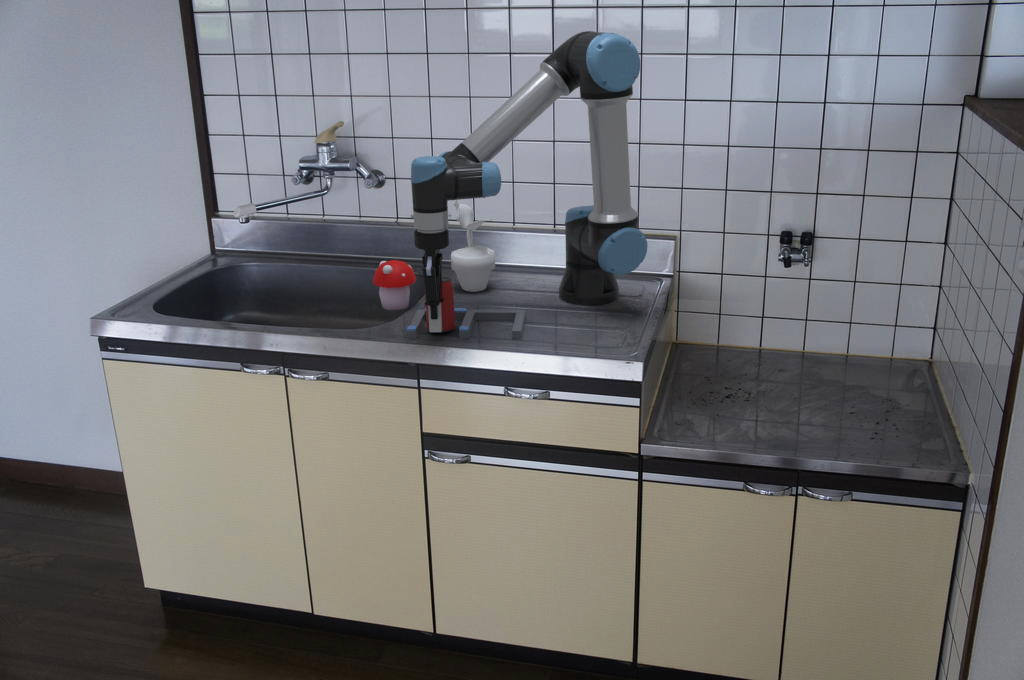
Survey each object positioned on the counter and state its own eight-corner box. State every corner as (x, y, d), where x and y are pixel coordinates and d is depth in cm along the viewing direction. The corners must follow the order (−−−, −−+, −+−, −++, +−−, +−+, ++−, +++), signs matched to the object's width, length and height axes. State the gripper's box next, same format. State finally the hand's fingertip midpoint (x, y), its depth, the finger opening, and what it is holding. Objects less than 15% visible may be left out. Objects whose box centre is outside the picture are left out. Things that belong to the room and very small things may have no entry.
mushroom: (392, 296, 250) (388, 252, 246) (426, 302, 245) (424, 257, 240) (366, 309, 242) (362, 262, 237) (401, 315, 236) (398, 268, 232)
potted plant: (443, 289, 255) (438, 195, 246) (476, 279, 262) (473, 188, 253) (474, 299, 246) (470, 202, 237) (508, 289, 253) (505, 194, 245)
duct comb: (525, 317, 232) (525, 308, 232) (521, 339, 219) (520, 329, 218) (418, 317, 235) (417, 308, 234) (407, 338, 221) (406, 328, 220)
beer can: (457, 326, 228) (455, 276, 225) (453, 332, 222) (450, 281, 219) (429, 326, 229) (427, 276, 226) (424, 333, 222) (421, 281, 219)
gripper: (418, 222, 217) (423, 321, 225) (408, 236, 205) (414, 340, 213) (452, 222, 217) (455, 321, 225) (444, 236, 204) (448, 341, 213)
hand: (435, 331), depth 219 cm, fingers closed
